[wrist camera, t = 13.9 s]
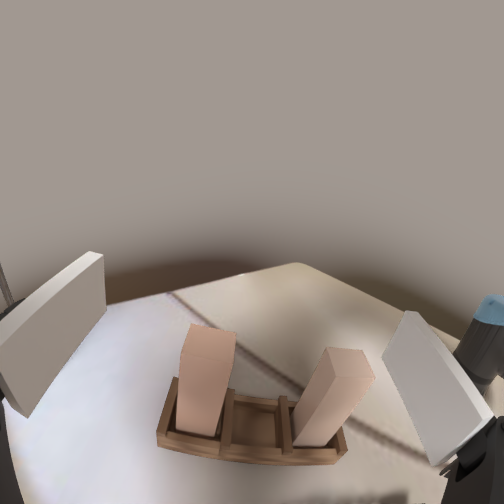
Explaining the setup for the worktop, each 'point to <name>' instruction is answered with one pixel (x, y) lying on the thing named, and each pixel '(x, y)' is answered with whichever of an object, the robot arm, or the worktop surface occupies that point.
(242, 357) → the worktop surface
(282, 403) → the rack
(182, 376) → the clay bar
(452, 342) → the worktop surface
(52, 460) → the worktop surface
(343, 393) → the clay bar
